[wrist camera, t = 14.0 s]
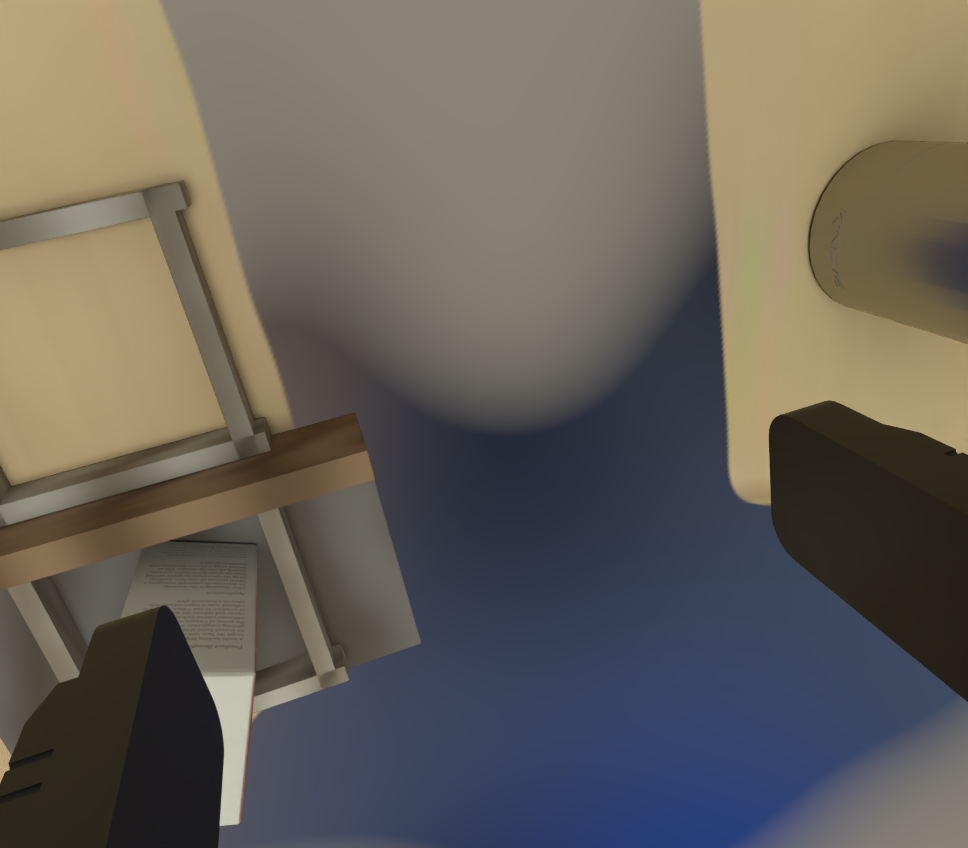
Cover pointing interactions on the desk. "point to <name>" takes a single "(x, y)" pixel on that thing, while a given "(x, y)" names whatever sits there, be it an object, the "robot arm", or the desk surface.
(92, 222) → the door edge frame
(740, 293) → the desk surface
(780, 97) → the desk surface
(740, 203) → the desk surface
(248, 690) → the small box
